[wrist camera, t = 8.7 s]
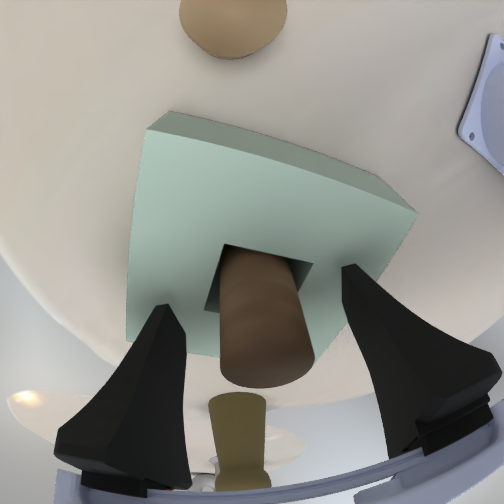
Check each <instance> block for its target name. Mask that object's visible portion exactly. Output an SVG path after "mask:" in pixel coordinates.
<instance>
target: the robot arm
mask: <svg viewBox="0 0 504 504" xmlns="http://www.w3.org/2000/svg"><path fill="white" fill-rule="evenodd" d="M470 133H471V135H470ZM458 134H459V137H460V138H461V139H463V140H464V141H465V142H466V143H467V144H469V145H470V146H471V147H472V148H473V149H475V150H476V151H477V152H478V153H479V154H480V155H482V156H483V157H484V158H485V159H486V160H487V161H488V162H489V163H490V164H492V165H493V166H494V167H495V168H496V169H497V170H498V171H499V172H500V173H501V174H502V175H503V176H504V41H503V40H502V39H501V38H500V36H499V35H497V34H491V35H490V37H489V41H488V45H487V48H486V52H485V56H484V59H483V62H482V66H481V69H480V72H479V75H478V78H477V81H476V84H475V87H474V90H473V92H472V95H471V98H470V101H469V103H468V106H467V108H466V111H465V114H464V116H463V119H462V121H461V123H460V126H459V129H458ZM469 135H470V138H469ZM341 282H342V305H343V308H344V311H345V314H346V317H347V320H348V323H349V325H350V328H351V330H352V332H353V335H354V337H355V339H356V341H357V344H358V346H359V348H360V350H361V353H362V355H363V357H364V360H365V362H366V364H367V367H368V370H369V372H370V376H371V379H372V382H373V386H374V389H375V393H376V397H377V401H378V405H379V409H380V413H381V418H382V423H383V427H384V433H385V438H386V445H387V451H388V456H389V460H387V461H384V462H381V463H378V464H375V465H372V466H369V467H366V468H363V469H359V470H356V471H352V472H349V473H345V474H341V475H337V476H333V477H328V478H324V479H320V480H315V481H310V482H305V483H299V484H293V485H287V486H280V487H272V488H264V489H254V490H241V491H221V492H188V491H187V492H186V491H167V490H174V489H178V490H179V489H180V490H188V489H189V488H190V487H191V486H192V485H193V483H192V479H191V474H190V469H189V464H188V458H187V451H186V444H185V434H184V421H183V393H184V381H185V369H186V357H187V346H186V333H185V331H184V329H183V328H182V326H181V324H180V323H179V321H178V319H177V317H176V316H175V314H174V312H173V311H172V309H171V307H170V305H169V303H167V304H162V305H156V306H155V307H154V309H153V311H152V312H151V314H150V316H149V317H148V319H147V321H146V323H145V324H144V326H143V328H142V329H141V331H140V333H139V335H138V336H137V338H136V340H135V341H134V343H133V345H132V346H131V348H130V349H129V351H128V353H127V354H126V356H125V357H124V359H123V360H122V362H121V363H120V365H119V366H118V368H117V369H116V371H115V372H114V373H113V375H112V376H111V377H110V379H109V380H108V381H107V382H106V384H105V385H104V386H103V387H102V388H101V389H100V390H99V392H98V393H97V394H96V395H95V396H94V397H93V398H92V399H91V401H90V402H89V403H88V404H87V405H86V406H85V407H84V408H82V409H81V410H80V411H79V412H78V413H77V414H76V415H75V416H74V417H73V418H71V419H70V420H69V421H68V422H66V423H65V424H64V425H63V426H61V427H60V428H59V429H58V432H57V437H56V442H55V448H54V455H55V456H56V457H57V458H58V459H60V460H62V461H63V462H66V463H68V464H70V465H72V466H74V467H76V468H78V469H81V470H82V475H79V474H76V473H73V472H69V471H65V470H61V469H58V470H57V477H56V484H55V494H54V504H278V503H285V502H292V501H298V500H304V499H309V498H315V497H320V496H325V495H329V494H333V493H338V492H342V491H345V490H349V489H352V488H357V487H360V486H363V485H367V484H370V483H373V482H376V481H379V480H382V479H385V478H388V477H391V476H393V475H394V476H393V477H392V478H391V480H390V481H388V482H385V483H382V484H379V485H377V486H374V487H371V488H368V489H365V490H362V491H359V492H358V493H357V494H355V495H354V496H353V497H354V502H355V504H446V503H448V502H449V501H451V500H453V499H454V498H456V497H458V496H460V495H461V494H463V493H464V492H466V491H467V490H469V489H470V488H472V487H474V486H475V485H477V484H478V483H479V482H481V481H482V480H484V479H485V478H486V477H488V476H489V475H491V474H492V473H493V472H495V471H496V470H497V469H499V468H500V467H501V466H503V465H504V399H502V400H501V401H499V402H498V403H496V404H495V405H494V406H492V407H491V408H489V405H488V402H489V401H490V398H489V396H488V394H487V393H488V392H489V391H490V390H491V388H492V387H493V386H494V385H495V384H496V383H497V382H498V380H499V379H500V377H501V375H502V371H501V369H500V367H499V365H498V363H497V361H496V359H495V358H494V356H493V355H492V353H490V352H487V351H485V350H482V349H479V348H476V347H474V346H471V345H469V344H467V343H464V342H462V341H460V340H458V339H456V338H454V337H452V336H450V335H448V334H446V333H445V332H443V331H441V330H439V329H437V328H435V327H434V326H432V325H431V324H429V323H427V322H426V321H424V320H423V319H421V318H420V317H418V316H417V315H416V314H414V313H413V312H411V311H410V310H409V309H407V308H406V307H405V306H404V305H402V304H401V303H400V302H398V301H397V300H396V299H395V298H394V297H392V296H391V295H390V294H389V293H388V292H387V291H385V290H384V289H383V288H382V287H381V286H380V285H379V284H378V283H376V282H375V281H374V280H373V279H372V278H371V277H370V276H369V275H368V274H367V273H366V272H365V271H364V270H363V269H361V268H360V267H359V266H358V265H357V264H356V263H354V264H350V265H346V266H342V267H341Z"/></svg>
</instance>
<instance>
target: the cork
mask: <svg viewBox="0 0 504 504" xmlns="http://www.w3.org/2000/svg"><path fill="white" fill-rule="evenodd" d="M208 406H209V412H210V418H211V424H212V430H213V436H214V442H215V447H216V453H217V458H218V463H219V468H220V473H219V474H218V475H217V477H216V480H215V490H216V492H221V491H241V490H254V489H264V488H271V480H270V478H269V475H268V474H267V472H266V471H265V470H264V444H265V413H266V401H265V399H264V398H263V397H262V396H259V395H257V394H252V393H244V392H235V393H226V394H222V395H218V396H216V397H214V398H212V399H211V400H210V401H209V404H208Z"/></svg>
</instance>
